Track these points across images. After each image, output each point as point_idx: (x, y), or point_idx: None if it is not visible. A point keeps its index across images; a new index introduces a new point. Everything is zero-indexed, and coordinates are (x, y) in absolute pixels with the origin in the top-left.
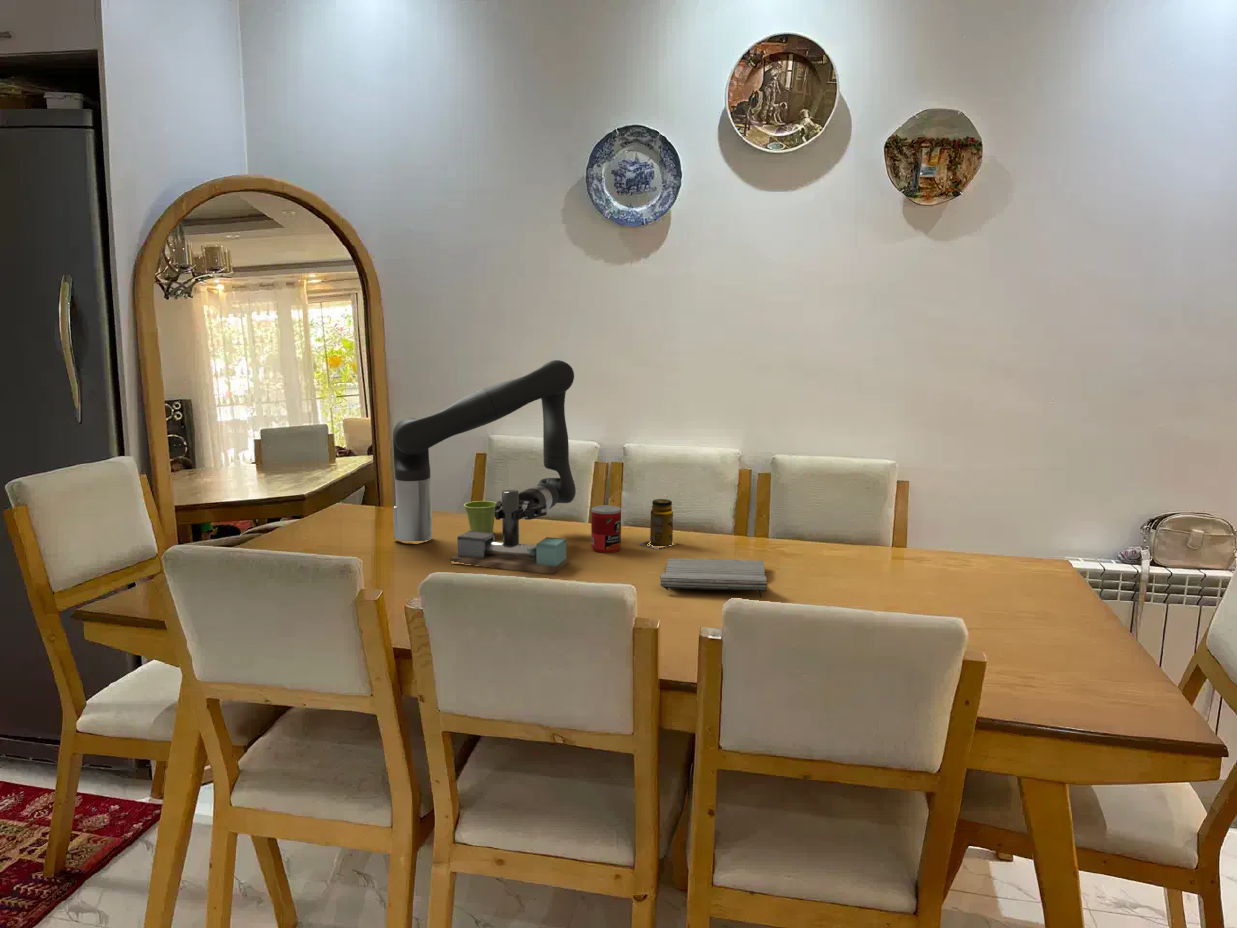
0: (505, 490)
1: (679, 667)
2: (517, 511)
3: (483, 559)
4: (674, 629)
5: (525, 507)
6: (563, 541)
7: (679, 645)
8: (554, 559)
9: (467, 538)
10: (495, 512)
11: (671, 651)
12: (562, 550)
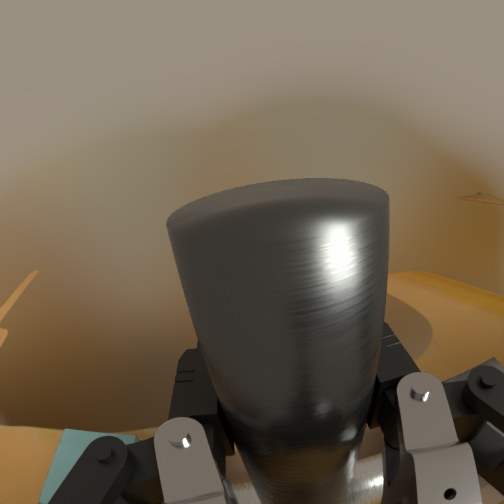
0: (382, 199)
1: (29, 277)
2: (201, 353)
3: (381, 438)
4: (3, 313)
5: (177, 484)
6: (44, 495)
7: (14, 295)
8: None
9: (462, 375)
10: None
11: (23, 288)
12: None
